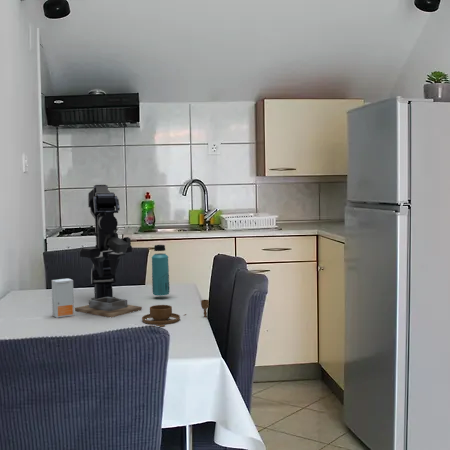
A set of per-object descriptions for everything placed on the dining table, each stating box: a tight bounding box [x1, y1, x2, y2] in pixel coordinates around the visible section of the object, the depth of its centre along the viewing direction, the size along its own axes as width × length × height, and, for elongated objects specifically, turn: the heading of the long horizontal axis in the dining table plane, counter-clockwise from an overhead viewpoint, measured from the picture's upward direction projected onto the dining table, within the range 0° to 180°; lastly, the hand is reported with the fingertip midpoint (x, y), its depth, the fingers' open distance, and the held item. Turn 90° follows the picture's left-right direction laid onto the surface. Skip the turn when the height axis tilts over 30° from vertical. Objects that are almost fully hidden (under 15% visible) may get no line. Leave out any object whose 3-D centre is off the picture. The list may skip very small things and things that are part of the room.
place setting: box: [141, 299, 210, 328], centre depth 192 cm, size 18×20×6 cm
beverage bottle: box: [151, 244, 171, 296], centre depth 228 cm, size 6×7×20 cm
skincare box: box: [51, 278, 75, 319], centre depth 200 cm, size 6×4×12 cm
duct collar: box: [74, 296, 143, 318], centre depth 208 cm, size 18×14×4 cm
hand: (107, 275), depth 207 cm, fingers open, 5 cm apart
